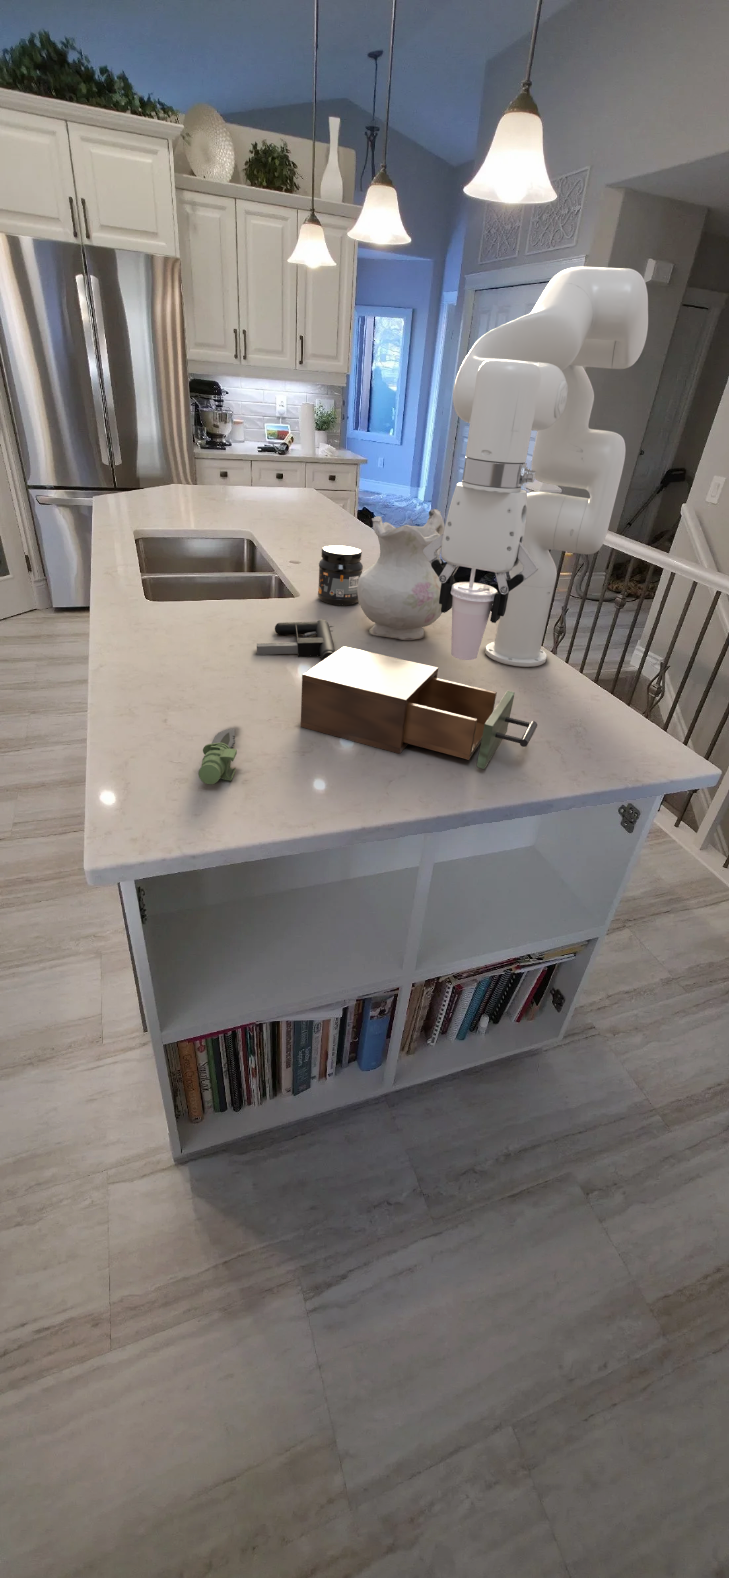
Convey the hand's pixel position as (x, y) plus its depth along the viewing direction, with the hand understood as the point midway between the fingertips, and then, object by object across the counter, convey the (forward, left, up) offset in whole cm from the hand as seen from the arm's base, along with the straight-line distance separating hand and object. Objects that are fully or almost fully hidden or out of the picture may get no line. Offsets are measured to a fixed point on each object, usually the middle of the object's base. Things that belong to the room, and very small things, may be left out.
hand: (470, 614), depth 95 cm
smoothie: (0, 0, -6) cm, 6 cm away
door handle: (-23, -39, -21) cm, 50 cm away
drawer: (0, +2, -19) cm, 20 cm away
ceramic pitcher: (-46, -26, -21) cm, 57 cm away
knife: (+22, -27, -21) cm, 41 cm away
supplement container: (-58, -47, -21) cm, 77 cm away
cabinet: (0, -14, -20) cm, 25 cm away
